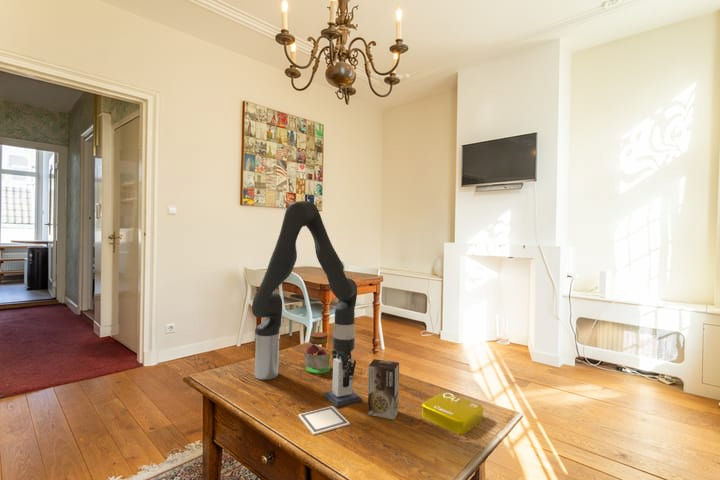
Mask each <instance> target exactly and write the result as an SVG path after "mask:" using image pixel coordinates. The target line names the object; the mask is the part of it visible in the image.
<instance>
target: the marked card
mask: <svg viewBox="0 0 720 480" xmlns="http://www.w3.org/2000/svg"><path fill="white" fill-rule="evenodd" d="M297 416H298V418H299V419H300V420H301V422H302V423H303V424H304V425H305V427H306V428H307V429H308V431H309V432H310V433H311V434H312V435H313V436H314V435H315V436H316V435H318V434H322V433H325V432H328V431H332V430H336V429H338V428H343V427H346V426H348V425H351V423H350V422H349V421H348V420H347V418H345V417H344V415H342V414H341V413H340V411H338V409H337V408H336V407H335V406H334V405H331V406H327V407H323V408H319V409H316V410H315V409H314V410H312V411H307V412H304V413H299V414H298V415H297Z"/></svg>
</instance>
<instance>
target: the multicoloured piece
mask: <svg viewBox="0 0 720 480" xmlns="http://www.w3.org/2000/svg"><path fill="white" fill-rule="evenodd" d="M328 335H329V334H328V333H326V332H323V331H321V332H320V331H317V332H313V333H310V344H309V345H308V346H307V347H306V349H305V350H306V351H305V352H303V354H304V366H305V370H306V372H307V373H310V374H316V375H317V374H318V375H319V374H325V373H328V372H330V371H331V366H330V358H331V357H330V355H331V354H330V353H329V354H327V351H325V350H324V349H320V348H319V347H318V346H317V345H319V346H321V345H326V344H328V339H329V336H328Z"/></svg>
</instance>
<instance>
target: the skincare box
mask: <svg viewBox="0 0 720 480" xmlns="http://www.w3.org/2000/svg"><path fill="white" fill-rule="evenodd" d="M351 359H352V360H354V359H353V358H351ZM341 365H342V362H341V361H340V359H337V358H334V359H333V358H332V388H331V389H332V390H331V391H332V393H333V394H334V395H336V396H337V397H340V396H345V395H349V394H352V391H353V379H354V378H353V377H354V375H353V376H350V377H349V386H348V387H343V370H342V369H341ZM344 367H347V365H346V366H344ZM346 370H347V369H346ZM346 370H345V371H346Z"/></svg>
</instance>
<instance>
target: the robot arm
mask: <svg viewBox="0 0 720 480" xmlns="http://www.w3.org/2000/svg"><path fill="white" fill-rule="evenodd" d="M303 227H306V228H307V229H308V230H309V233H310V234H311V236H312V238H313V242H314V249H315V250H314V251H315V255H316V256H315V257H316V259H317V261H318V263H319V265H320V267H321V268H322V270H323V273H324V274H325V276H326V279H327V282H328V284H329V287H330V290H331V291H332V294H333V295H334V296H335V298H337V300H338V301H337V305H336V307H335V310H334V324H333V335H332V336H333V338H332V339H333V340H332V344H333V345H332V347H333V350H331V355H332V360H333V359H334V358H337V359H340V361H341V362H342V365H341V369H342V370H343V387H348V386H349V377H350V376H353V377H354V373H355V369H356V364H357V361H356V359H353V358H352V351H353V350H355V343H356V342H355V339H356V338H355V337H356V336H355V335H356V327H355V309H356V304H357V303H356V302H357V297H358V285H357V283H356V281H355V280H354V279H352V278H349V277H347V276H346V273H345V271H344V269H345V266H344V264H343V262H342V261H341V258H340V257H339V255H338V254H337V253H338V252H336V250H335V248H334V245H333V244H332V242H331V239H330V237H329V235H328V233H327V230H326V227H325V225H324V222H323V219H322V217H321V214H320V211H319V209H318V207H317V206H316V204H315V203H313V202H312V201H310V200H301V201H300V200H299V201H298V200H297V201H296V200H295V201H293V202H291V203H290V204H289V205H288V206H287V207H286V210H285V212H284V216H283V220H282V225H281V229H280V232H279V236H278V239H277V241H276V244H275V247H274V249H273V252H272V254H271V257H270V259H269V262H268V265H267V269H266V270H265V271H266V272H265V274H264V276H263V278H262V281H261V284H260V285H259V287H258V289H257V291H256V293H255V295H254V298H253V301H252V303H251V311H252V314H253V316H254V317H255V318H261V319H262V318H265V320H263V321H262V322H261V323H260V324H257V326H255V327H256V328H255V351H254V352H255V355H254V356H255V357H254V378H256V379H257V380H262V381H263V380H271V379H275V378H276V377H278V376H279V361H280V359H279V355H280V329H281V326H282V317H283V299H282V297H281V295H280V294H279V293H277V292H275V291H276V289H277V288H278V287H279V286H281V284H282V283H283V282H285V281H286V280H287V279H288V277H290V275H291V274H292V272H293V269H294V267H295V265H296V262H297V258H298V252H297V251H298V250H297V239H298V236H299V234H300V232H301V230H302V228H303ZM352 359H353V360H352ZM346 365H347V367H344V366H346ZM346 369H347V370H346ZM345 370H346V371H345Z"/></svg>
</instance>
